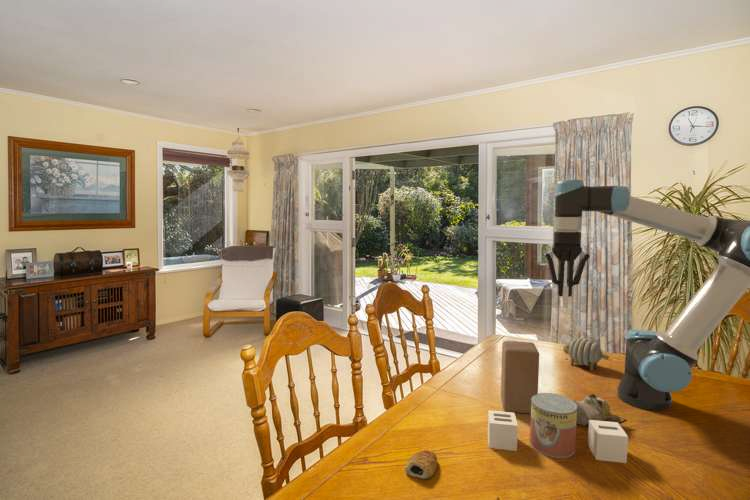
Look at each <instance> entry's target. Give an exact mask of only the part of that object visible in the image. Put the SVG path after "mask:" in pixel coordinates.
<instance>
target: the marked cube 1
mask: <svg viewBox="0 0 750 500" xmlns="http://www.w3.org/2000/svg"><path fill="white" fill-rule="evenodd" d="M515 413H516V412H507V411H500V410H489V409H488V411H487V442H488V449H497V450H504V451H512V452H514V451H515V452H517V451H518V433H519V432H518V428H519V425H518V422H517V417H516V414H515Z"/></svg>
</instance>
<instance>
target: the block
mask: <svg viewBox="0 0 750 500" xmlns="http://www.w3.org/2000/svg"><path fill="white" fill-rule="evenodd" d="M501 347H502V348H501V350H502V351H501V375H500V376H501V377H500V379H501V380H500V381H501V382H500V399H501V404H502V408H503V411H504V412H512V413H517V414H518V413H520V414H528V415H529V414H530V415H531V398H532V396H534V395H536V394H539V373H540V372H539V371H540V370H539V369H540V353H539V351H538V348H537V346H536V345H535V343H534V342H530V341H513V340H504V341H503V342H502V345H501Z"/></svg>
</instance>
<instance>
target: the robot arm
mask: <svg viewBox="0 0 750 500" xmlns="http://www.w3.org/2000/svg"><path fill="white" fill-rule="evenodd" d="M555 189H556V190H555V199H554V200H555V201H554V203H555V204H554V208H555V209H554V226H553V227H554V230H555V231H554V233H553V245H552V247H551V250H549V251H547V252H544V253H543V256H544V258H545V259H546V260H547V261H546V262H547V266H548V270H549V275H550V279H551V282H552V283H553V284H554V285H557V295H558V296H559V297H560V306H561V308H564V309H565V308H568V307H569V297H572V296H573V287H574V286H578V285H579V284H580V282H581V279H582V275H583V272H584V269H585V266H586V262H587V261H588V260H589V258H590V257H591V256H590V255H591V254H589V253H586V252H584V251H583V248H582V246H581V245H582V244H581V242H582V233H581V230H582V226H583V225H582V224H583V221H582V220H583V212H597V213H601V214H604V215H608V216H612V217H615V218H618V219H621V220H624V221H629V222H631V223H635V224H637V225H642V226H645V227H647V228H652V229H655V230H658V231H662V232H665V233H668V234H672V235H675V236H678V237H682V238H685V239H688V240H691V241H694V242H695V243H696V245H697V246H699V247H702V248H703V247H704V248H707V249H709V250H711V251H713V252H717V253H718V254H717V255H716V258H717V261H718V264H717V265H716V267H715V268H714V270H713V271H712V272H711V273H710V275H709V276H708V277H707V278H706V280H705V281H704V282H703V283H702V284H701V286H700V287H699V289H698V290H696V292H695V293H694V295H693V296H692V298H691V299H690V301H688V302H687V304H686V305H685V306H684V307H683V309H682V311H680V313H679V314H678V315H677V316H676V318H675V320H673V322H672V323H671V324H670V326H668V329H666V331H664V332H660V331H655V330H648V329H647V330H646V329H630V330H628V331H627V332H626V338H625V355H624V356H625V359H624V360H625V361H624V372H623V373H624V374H623V376H622V377H621V379H620V381H619V384H618V386H617V388H616V389H617V391H616V395H617V397H618V398H619V400H621V401H623V402H624V403H626V404H628V405H630V406H633V407H637V408H641V409H644V410H651V411H665V410H669V409H671V408H672V405H673V398H672V394H671V393H675V392H679V391H682V390H683V389H685V388H687V386H689V384H690V383H691V381H692V378H693V371H692V368H693V367H694V366H695V365H696V363H697V362H698V361H699V356H698V350H699V349H700V348H701V346H702V345H703V344H704V343H705V342H706V341H707V339H708V338H709V337H710V336H711V334H712V333H713V332H714V331H715V330H716V328H717V327H718V326H719V324H720V323H721V322H722V321H723V320H724V318H725V317H726V316H727V315H728V314H729V312H730V311H731V310H732V309H733V308H734V306H735V305H737V304H736V303H738V301H739V300H740V299H741V297H742V296H744V294H745V293H746V292H747V290H748V289H749V288H750V220H746V219H745V220H743V219H729V218H724V217H719V216H717V215H716V216H715V215H711V216H707V217H706V216H704V215H703V216H702V215H699V214H695V213H692V212H688V211H685V210H681V209H677V208H674V207H670V206H667V205H664V204H661V203H660V204H659V203H656V202H652V201H648V200H645V199H642V198H639V197H634V196H631V195H630V189H629V188H628V186H627V185H616V184H615V185H598V186H597V185H596V186H595V185H594V186H592V185H591V186H587V185H585V184H584V180H583V179H561V180H559V181H558V182H557V183H556V187H555ZM554 256H555V258H556V259H557V260H558V261H557V262H558V269H557V274H556V268H555V264H554V260H553V258H554ZM578 257H579V261H578V264H577V266H576V270H575V273H574V266H575V260H576V259H577V258H578ZM566 263H567V265H566V284H564V283H565V264H566Z"/></svg>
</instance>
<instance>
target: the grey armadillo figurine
mask: <svg viewBox="0 0 750 500" xmlns="http://www.w3.org/2000/svg"><path fill="white" fill-rule="evenodd" d="M562 351H563V352H564V354H566V355H568V356H569V358H570V363H569V364H570V365H571V366H574V364H575V363H577V364H578V365H580V366H583V367H584V366H586V367H589V370H590V371H594V368H597V367H598V363H599V362H600V361H601V360H602V359H604V360H609V359H610V356H609V355H606V354H604V353H603V352H602V349H601V347H600V345H599V344H598V343H595V342H594V341H593V340H589V339H588V338H574V339H572V340H571V341H570V342H567V343H565V345H564V346H563V349H562Z"/></svg>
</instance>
